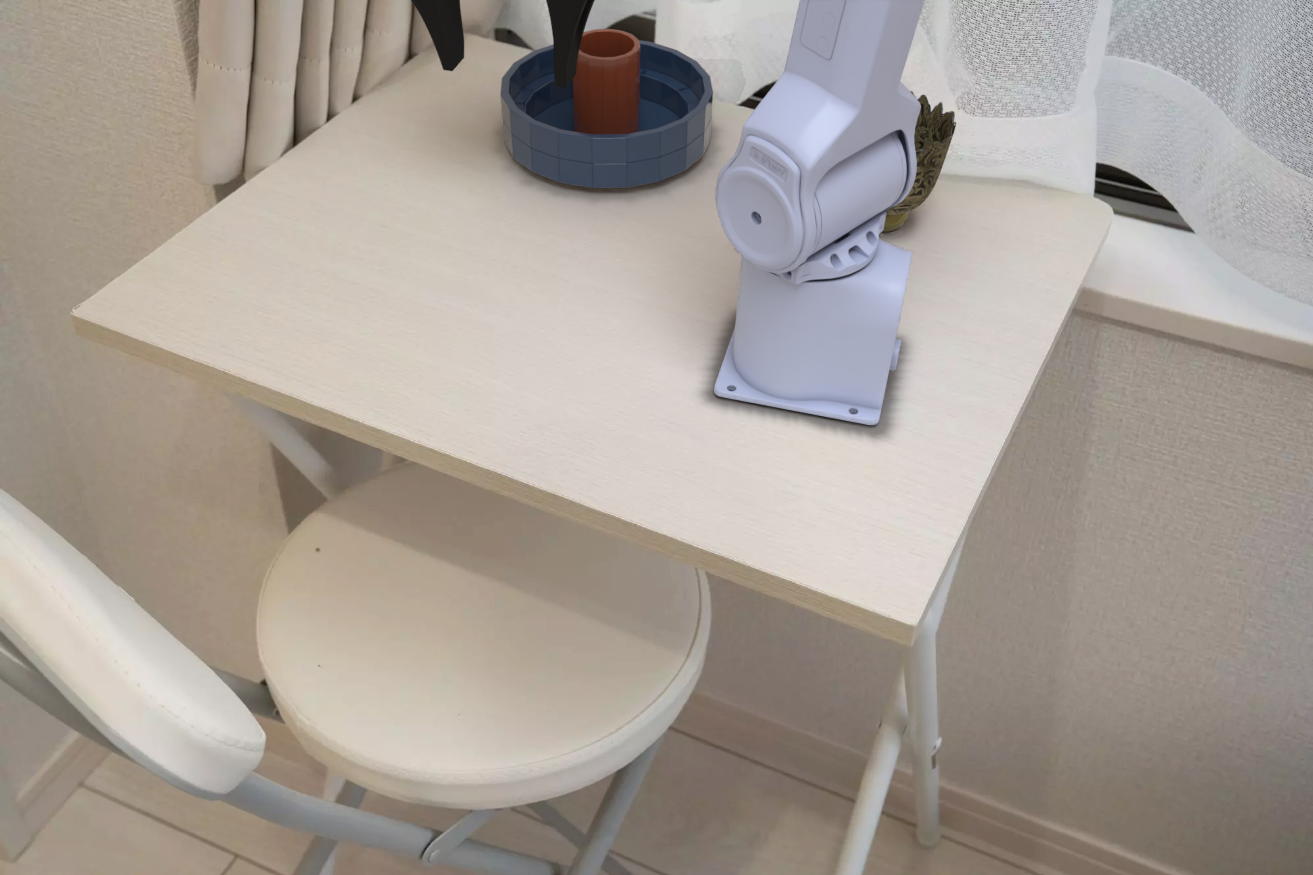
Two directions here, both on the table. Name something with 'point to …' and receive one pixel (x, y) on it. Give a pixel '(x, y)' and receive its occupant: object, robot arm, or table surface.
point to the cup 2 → (925, 158)
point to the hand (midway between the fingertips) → (509, 72)
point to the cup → (607, 83)
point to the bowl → (655, 153)
